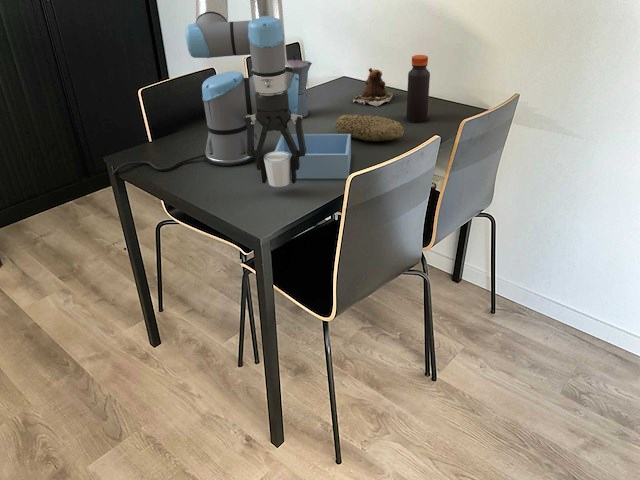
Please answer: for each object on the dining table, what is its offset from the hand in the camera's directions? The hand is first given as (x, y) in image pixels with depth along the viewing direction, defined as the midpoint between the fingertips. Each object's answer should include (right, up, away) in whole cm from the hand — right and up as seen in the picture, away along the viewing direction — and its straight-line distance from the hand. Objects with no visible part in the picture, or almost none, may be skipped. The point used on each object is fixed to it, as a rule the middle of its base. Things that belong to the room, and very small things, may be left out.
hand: (279, 180), depth 139 cm
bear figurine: (+30, +36, +61) cm, 77 cm away
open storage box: (+9, +5, +14) cm, 17 cm away
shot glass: (0, 0, 0) cm, 1 cm away
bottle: (+42, +25, +42) cm, 64 cm away
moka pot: (+1, +28, +51) cm, 58 cm away
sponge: (+25, +16, +30) cm, 43 cm away
